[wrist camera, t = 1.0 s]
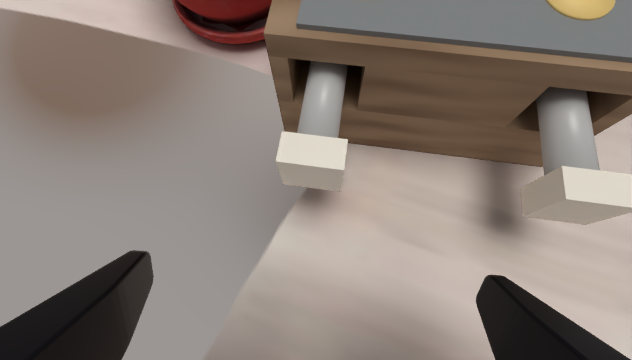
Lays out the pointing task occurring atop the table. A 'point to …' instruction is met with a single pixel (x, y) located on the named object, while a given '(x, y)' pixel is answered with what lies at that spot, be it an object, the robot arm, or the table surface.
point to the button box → (438, 90)
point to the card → (485, 24)
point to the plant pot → (225, 19)
